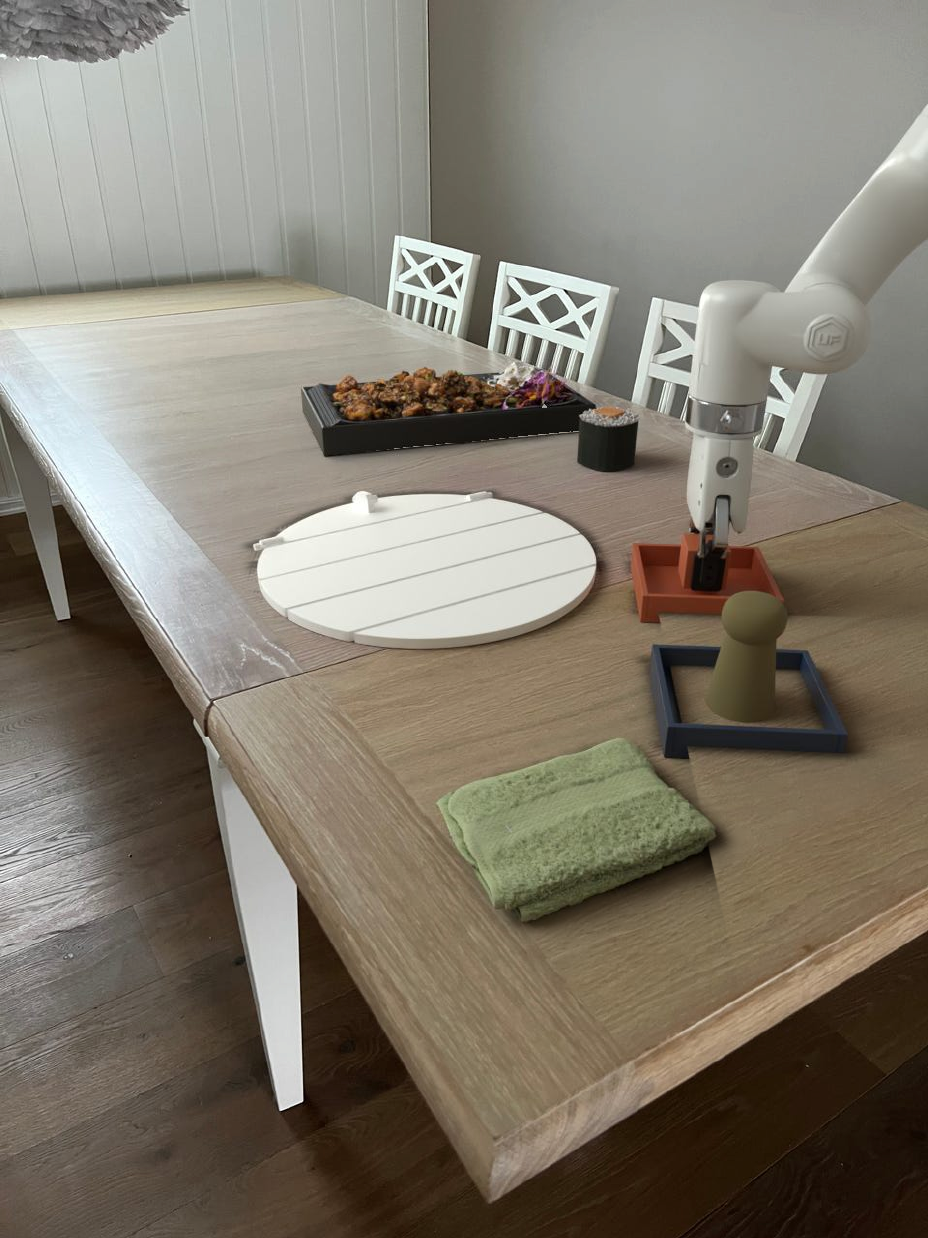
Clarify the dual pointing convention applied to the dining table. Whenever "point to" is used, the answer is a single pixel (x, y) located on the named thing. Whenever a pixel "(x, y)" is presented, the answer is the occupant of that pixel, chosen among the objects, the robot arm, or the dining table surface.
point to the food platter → (440, 409)
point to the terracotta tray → (666, 594)
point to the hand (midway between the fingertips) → (702, 577)
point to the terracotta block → (687, 557)
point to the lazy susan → (426, 570)
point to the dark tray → (742, 737)
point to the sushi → (607, 438)
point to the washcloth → (571, 828)
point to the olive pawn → (747, 658)
